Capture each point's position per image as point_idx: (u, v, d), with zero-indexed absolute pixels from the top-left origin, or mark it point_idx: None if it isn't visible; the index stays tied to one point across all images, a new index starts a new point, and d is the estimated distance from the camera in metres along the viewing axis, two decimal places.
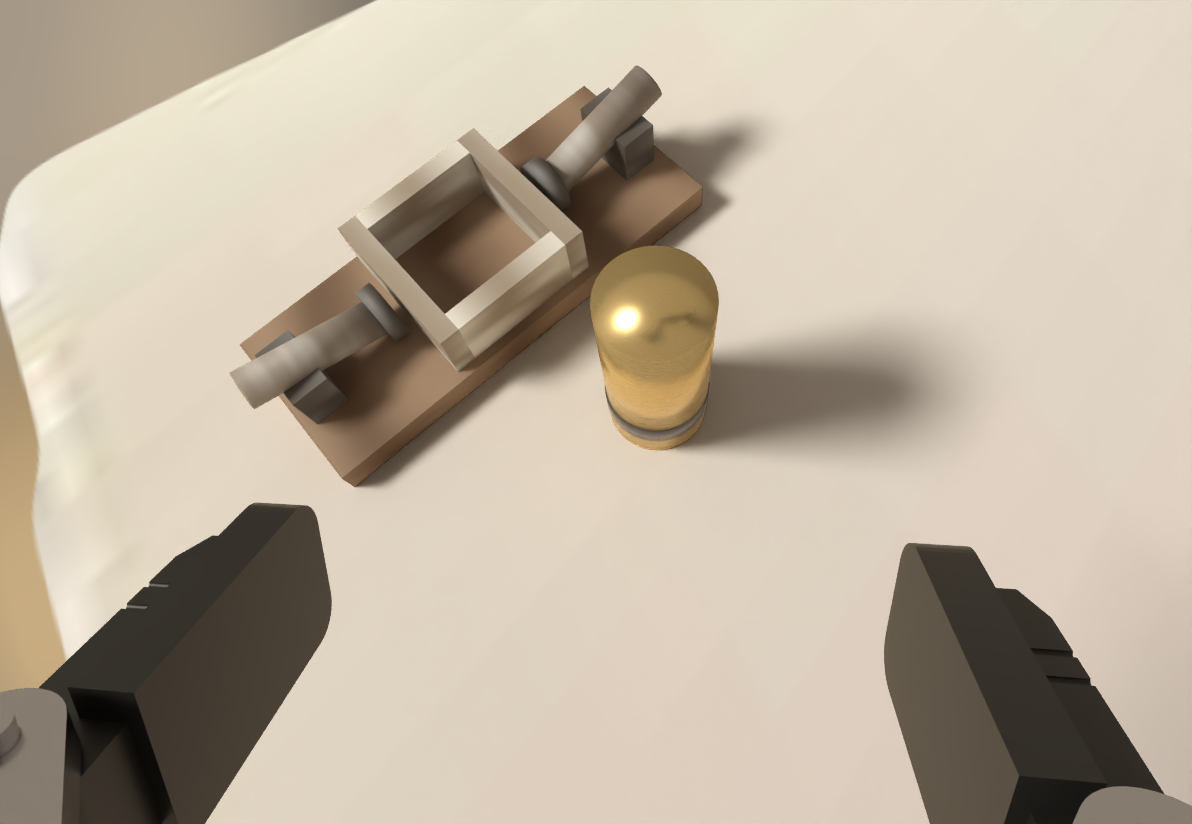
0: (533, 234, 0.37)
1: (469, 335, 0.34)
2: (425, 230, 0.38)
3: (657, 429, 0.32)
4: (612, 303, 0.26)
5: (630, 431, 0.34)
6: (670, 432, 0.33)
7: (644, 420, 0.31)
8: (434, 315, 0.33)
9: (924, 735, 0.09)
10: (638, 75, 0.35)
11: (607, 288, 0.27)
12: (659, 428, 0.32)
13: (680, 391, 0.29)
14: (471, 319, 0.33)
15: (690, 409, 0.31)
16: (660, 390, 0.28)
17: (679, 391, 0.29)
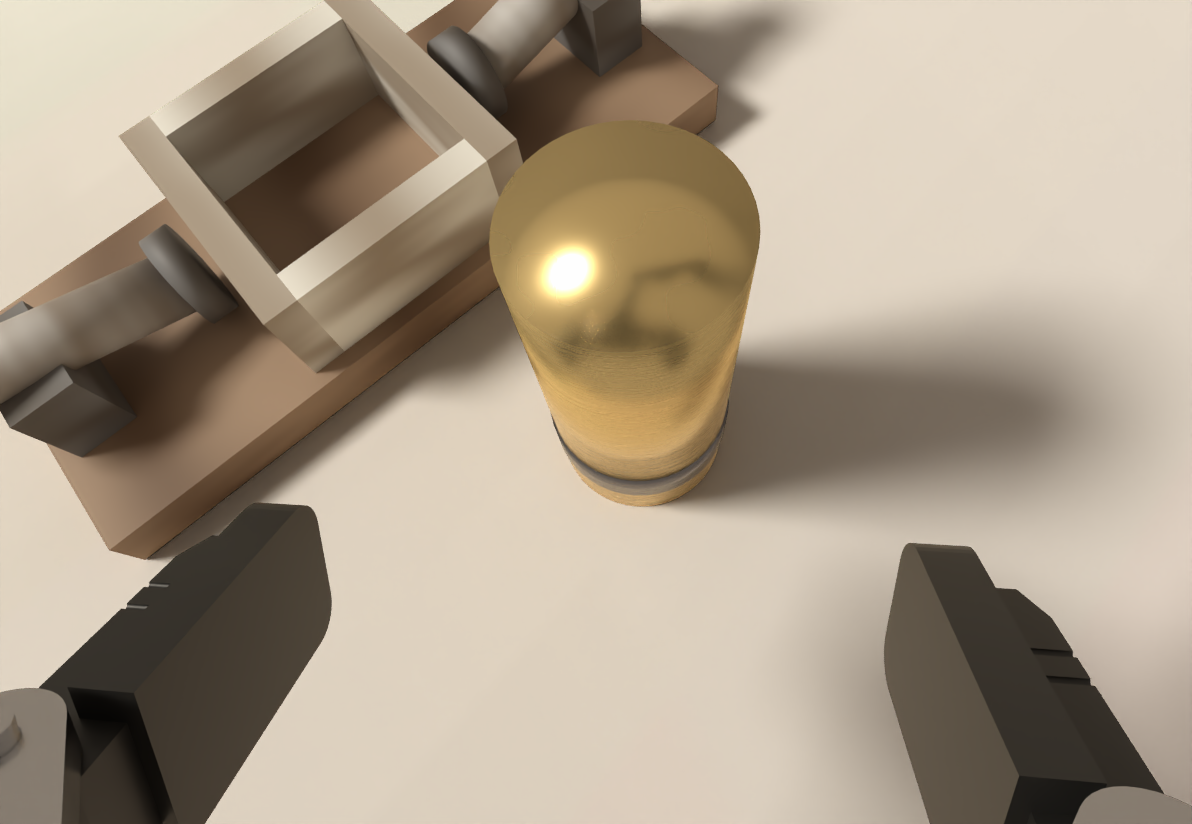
0: None
1: (323, 312, 0.20)
2: (281, 150, 0.24)
3: (637, 478, 0.18)
4: (537, 234, 0.13)
5: (593, 478, 0.20)
6: (660, 482, 0.19)
7: (613, 463, 0.18)
8: (259, 276, 0.19)
9: (924, 735, 0.09)
10: None
11: (527, 204, 0.13)
12: (642, 477, 0.18)
13: (678, 417, 0.15)
14: (320, 283, 0.19)
15: (695, 445, 0.17)
16: (638, 414, 0.14)
17: (676, 417, 0.15)
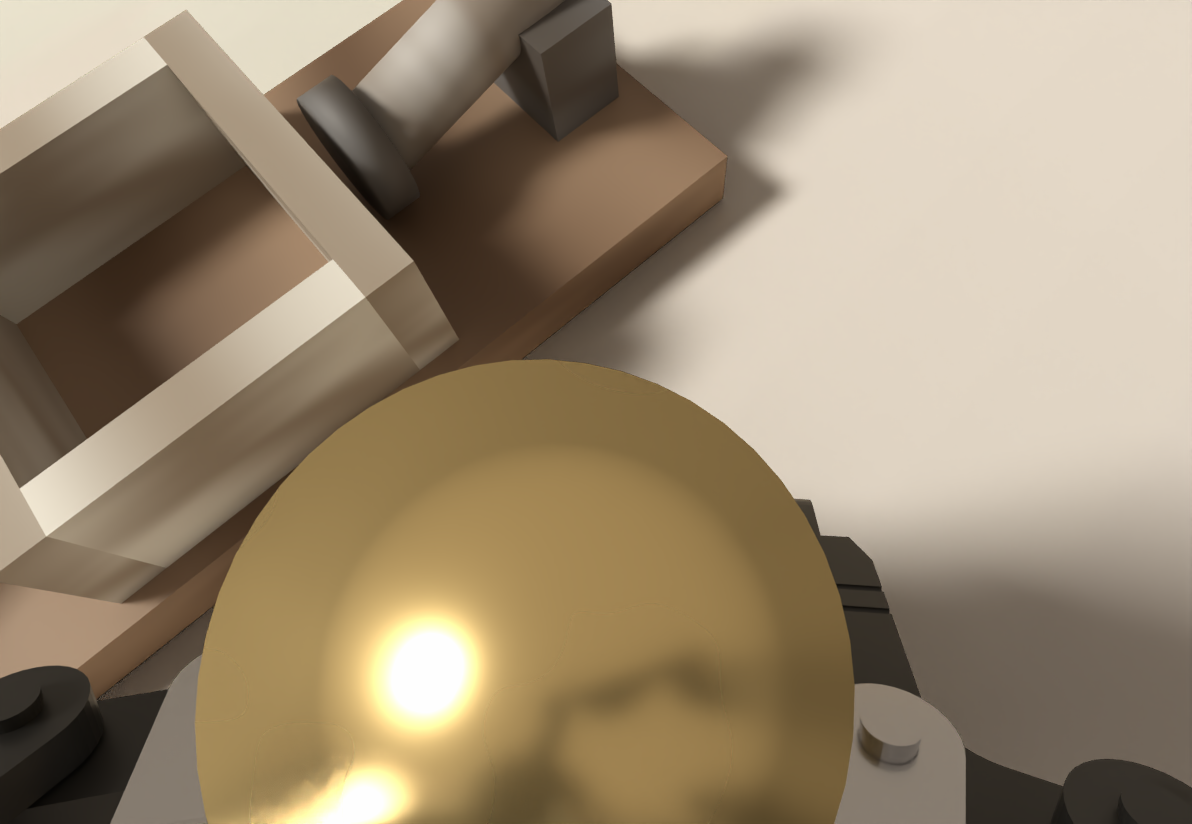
0: None
1: (107, 537, 0.13)
2: (99, 249, 0.17)
3: None
4: (312, 665, 0.05)
5: None
6: None
7: None
8: None
9: None
10: None
11: (298, 575, 0.05)
12: None
13: None
14: (88, 506, 0.12)
15: None
16: None
17: None
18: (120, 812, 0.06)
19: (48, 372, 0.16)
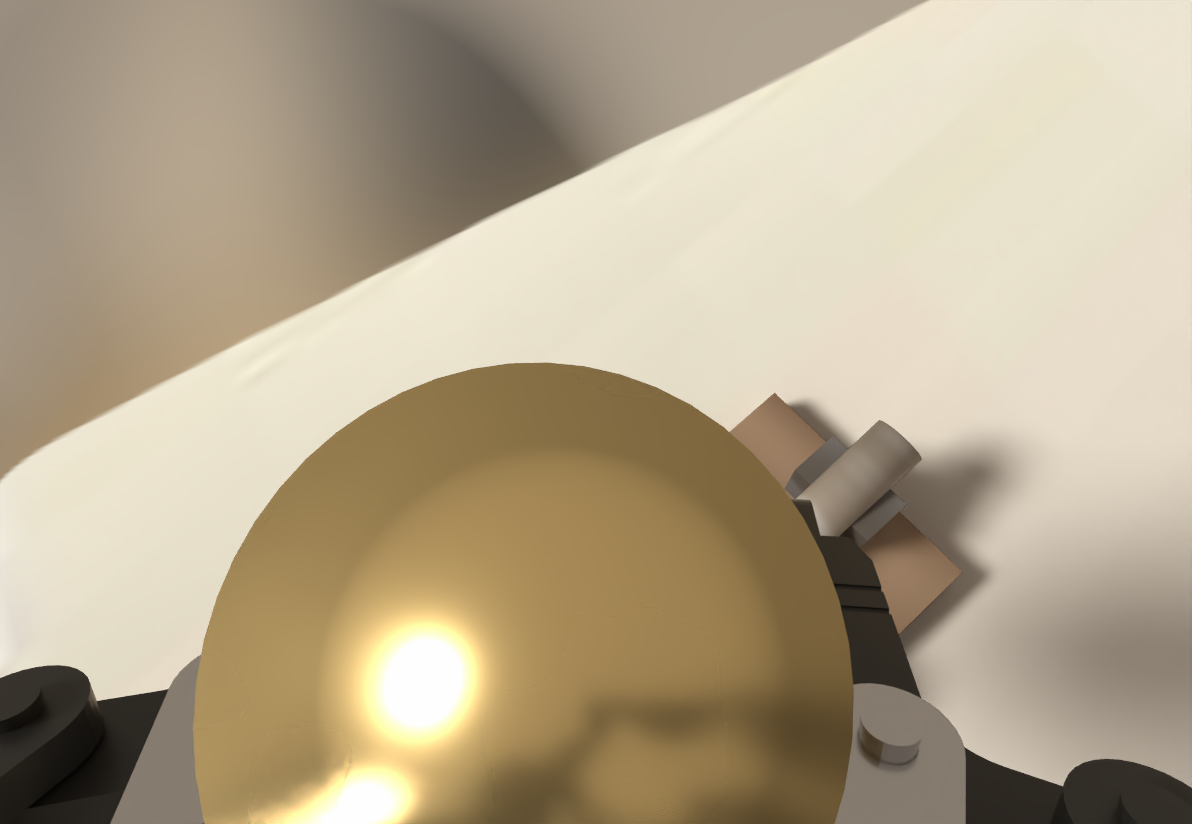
0: None
1: None
2: None
3: None
4: (309, 669, 0.05)
5: None
6: None
7: None
8: None
9: None
10: (893, 443, 0.24)
11: (296, 579, 0.05)
12: None
13: None
14: None
15: None
16: None
17: None
18: (120, 811, 0.06)
19: None
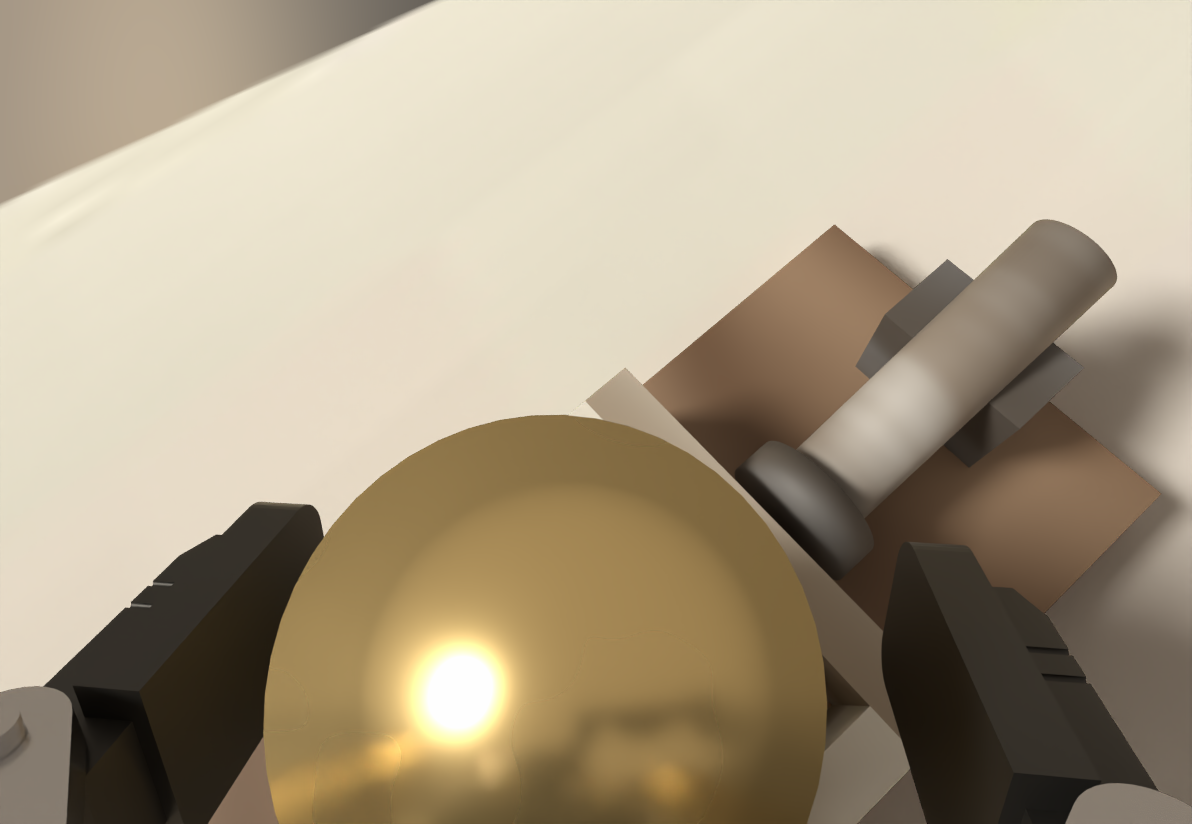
0: None
1: None
2: None
3: None
4: (362, 682, 0.06)
5: None
6: None
7: None
8: None
9: (920, 733, 0.09)
10: (1071, 250, 0.13)
11: (349, 605, 0.06)
12: None
13: None
14: None
15: None
16: None
17: None
18: None
19: None
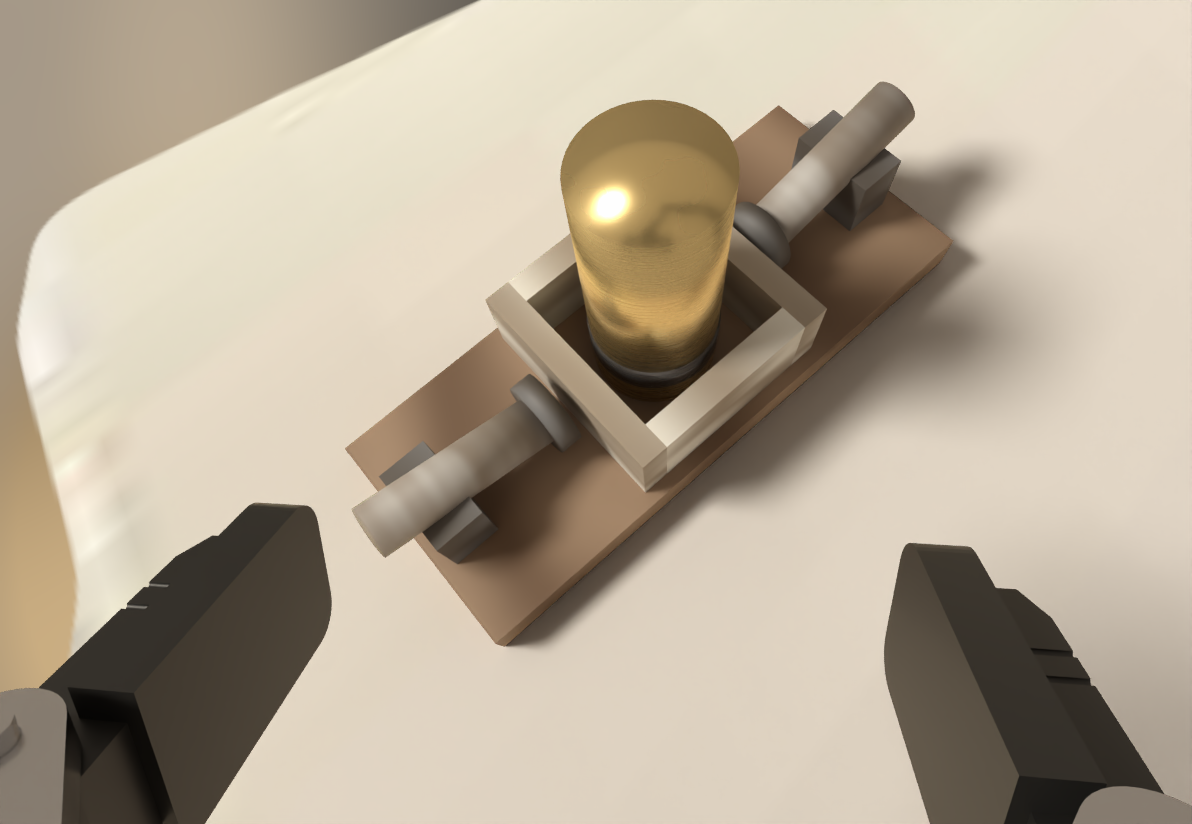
0: (737, 304, 0.28)
1: (673, 450, 0.25)
2: None
3: (653, 369, 0.25)
4: (592, 174, 0.19)
5: (619, 375, 0.26)
6: (670, 374, 0.25)
7: (636, 355, 0.24)
8: (631, 425, 0.24)
9: (924, 735, 0.09)
10: (889, 95, 0.26)
11: (585, 155, 0.19)
12: (657, 368, 0.25)
13: (684, 309, 0.21)
14: (683, 432, 0.24)
15: (696, 340, 0.24)
16: (657, 304, 0.21)
17: (683, 308, 0.21)
18: None
19: None
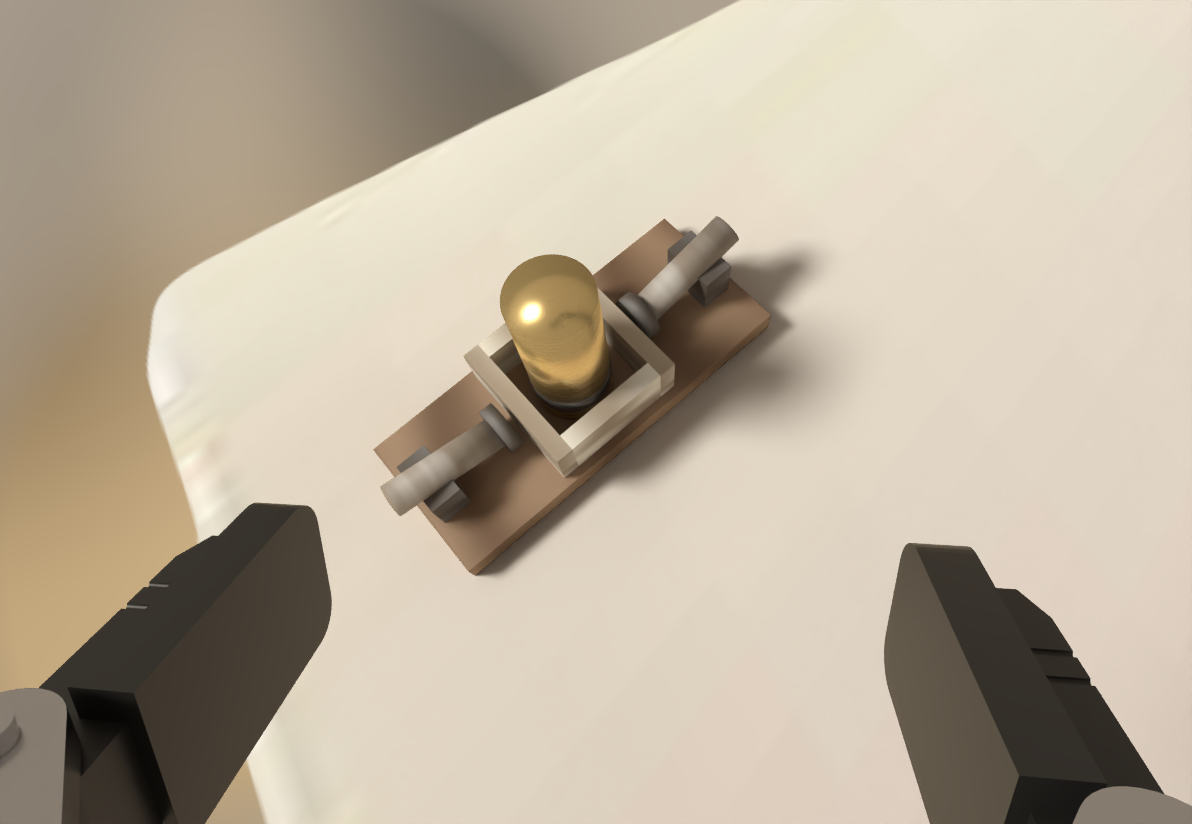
0: (626, 357, 0.43)
1: (578, 451, 0.40)
2: None
3: (566, 401, 0.40)
4: (517, 299, 0.34)
5: (547, 404, 0.41)
6: (577, 404, 0.40)
7: (554, 393, 0.39)
8: (551, 436, 0.39)
9: (924, 735, 0.09)
10: (720, 226, 0.42)
11: (514, 287, 0.34)
12: (568, 400, 0.40)
13: (576, 369, 0.36)
14: (582, 440, 0.39)
15: (590, 384, 0.39)
16: (558, 367, 0.36)
17: (575, 369, 0.36)
18: None
19: None
